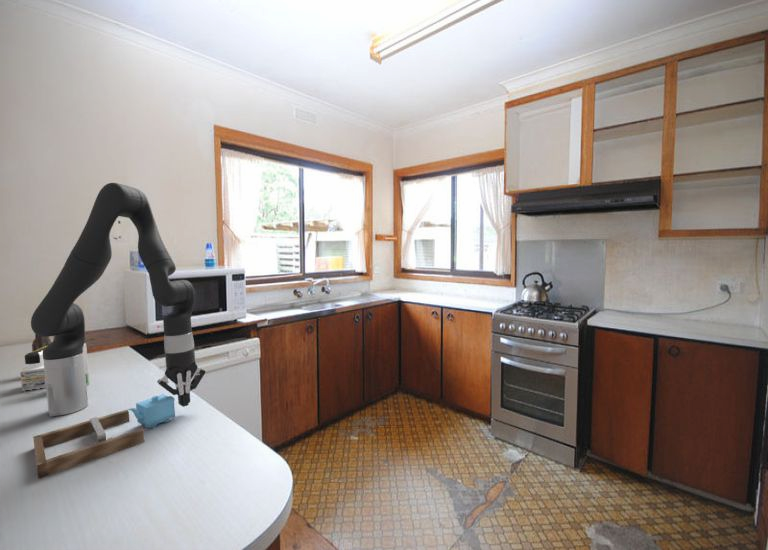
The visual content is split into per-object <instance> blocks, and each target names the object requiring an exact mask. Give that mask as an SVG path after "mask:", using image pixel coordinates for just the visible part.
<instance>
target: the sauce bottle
mask: <svg viewBox="0 0 768 550" xmlns="http://www.w3.org/2000/svg"><path fill="white" fill-rule="evenodd" d="M34 336H35V337H34V339H33V341H32V343H31V352H34V351H42V350H44V349H45V348H46V347H47V346H48V345H50V344H51V343H52V342H53V341H52V340H51V339H50V337H42V336H38V335H37V334H35V333H34Z"/></svg>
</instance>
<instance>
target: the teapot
mask: <svg viewBox="0 0 768 550" xmlns="http://www.w3.org/2000/svg"><path fill="white" fill-rule="evenodd" d="M135 406H136V407H131V408H128V409H126V410H128V411H131V412H132V413H133V415H134V416H135V418H136V419H137V423H138V424H140V425H142V426H144V427H146V428H148V429H155V428H157V425H159V424H160V423H164V424H165V423H169V422H171V419H173V418H175V417H176V410H175V398H174V396H173V395H166V394H164V393H162V394H159V395H154V396H152V397H150V398H147V399H145V400H141V401H140V402H136V403H135Z"/></svg>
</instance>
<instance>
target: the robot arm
mask: <svg viewBox="0 0 768 550" xmlns="http://www.w3.org/2000/svg"><path fill="white" fill-rule="evenodd" d="M118 217H121V218H128V219H129V220H130V221H131V222H132V224H133V225H134V226H135V229H136V230H137V235H138V241H137V252H138V256H139V258H140V260H141V262H142V265H143V266H144V267H145V270H146V272H147V273H148V275H149V276H148V277H149V282H150V288H151V294H152V297H153V299H154V300H155V302H156V303H157V304H158V305H160V306H161V307H165V308H166V307H173V309H172V311H171V312H170V313H168V314H166V315H165V316H164V317H163V320H162V321H163V322H162V323H163V335H164V339H163V340H164V341H163V346H164V347H163V348H164V358H165V367H166V368H165V372H164V376H162V378H160V379H158V380H157V382H156V383H157V384H158V385H159V386H161V387H162V388H164V390H166V391H168V392H169V393H170V394H172V396H176V395H177V402H178V404H179V405H180V406H181V407H182V408H184V407H187V406H189V404H190V403H191V394H190V393H191V391H193V390H195V389H197V387H198V386H199V383H200V382H201V380H202V379H203V378H204V376H205V374H206V370H204V369H203V368H199V367H198V365H197V363H196V353H195V341H194V335H193V331H192V330H193V328H192V314H193V310H194V304H195V300H196V290H195V287H194V285H193V284H192V283H191V282H190V281H189V280H186V279H179V280H178V279H176V280H172V281H170V279H169V277H170V276H171V275H173V274H174V273H175V272H176V264H175V262H174V261H173V258H172V256H171V255H170V253H169V252H168V250H167V248H166V245H165V243H164V242H163V240H162V237H161V235H160V231H159V229H158V226H157V224H156V220H155V217H154V214H153V211H152V208H151V205H150V201H149V200H148V197H147V196H146V194H145V193H144V192H143V191H142V190H140V189H138V188H135V187H132V186H129V185H125V184H121V183H118V182H109V183H106V184H105V185H103V187H102V188H100V190H99V192H98V193H97V196H96V198H95V201H94V202H93V205H92V209H91V211H90V214H89V216H88V219H87V221H86V223H85V225H84V228H83V229H82V231H81V234H80V235H79V237H78V239H77V241H76V242H75V244H74V246H73V248H72V250H71V251H70V254H69V255H68V256H67V258H66V260H65V263H64V265H63V267H62V269H61V270H60V271H59V274H58V275H57V277H56V279H55V281H54V283H53V284H52V286H51V288H50V290H49V291H48V292H47V293H46V295H45V296H44V297H43V299H42V300H41V301H40V303H39V304H38V305H37V307H36V308H35V310H34V312H33V313H32V315H31V319H30V326H31V330H32V331H33V333H34V335H35V334H37V335H38V336H42V337H49V338H50V337H54V339H53V340H52V341H51V342H52V343H51V344H50V345H48V346H47V347H46V348H45V349H44V350H43V362H44V371H45V380H46V382H45V385H46V388H45V393H46V394H45V395H46V402H47V411H48V416H49V417H50V418H52V417H55V416H63V415H69V414H72V413H76V412H79V411H81V410H84V409H85V408H87V407H88V406H89V401H88V400H89V398H88V389H87V385H86V377H85V367H84V356H83V346H84V343H85V342H86V324H85V322H86V321H85V316H84V312H83V309H82V308H81V307H80V306H79V305H78V304H77V303H74V302H75V301H77V299H78V298H79V297H80V296H81V295H82V294H83V293H84V292H86V291H87V290H88V289H90V288H91V287H92V286H93V285H94V284H95V283H96V282H97V281H98V280H99V279H100V278H101V277H102V276H103V275H104V273H105V271H106V269H107V267H108V265H109V263H110V262H111V259H112V257H113V256H112V245H111V238H110V234H111V230H112V228H113V226H114V224H115V222H116V221H117V219H118ZM85 344H86V343H85ZM193 376H194V377H193ZM168 379H169V380H170V381H171V382H172V383H174V385H175V388H173V387H172V386H170V385H169V382H170V381H169V380H168Z"/></svg>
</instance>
